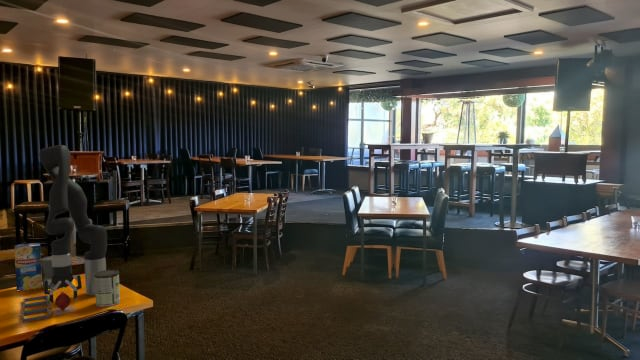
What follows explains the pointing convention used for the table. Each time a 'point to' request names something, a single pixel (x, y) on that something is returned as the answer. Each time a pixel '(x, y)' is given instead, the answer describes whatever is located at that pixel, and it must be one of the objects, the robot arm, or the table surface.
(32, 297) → the tray
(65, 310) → the tile
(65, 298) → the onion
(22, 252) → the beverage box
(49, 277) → the coffeepot
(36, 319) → the tray
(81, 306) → the table surface
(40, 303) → the tray
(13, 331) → the table surface
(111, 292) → the coffee can
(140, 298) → the table surface
